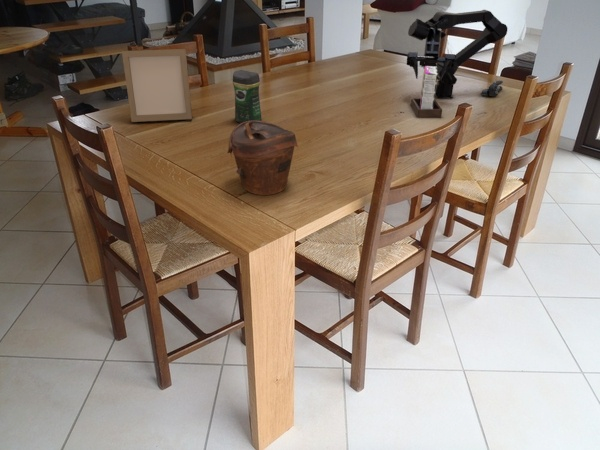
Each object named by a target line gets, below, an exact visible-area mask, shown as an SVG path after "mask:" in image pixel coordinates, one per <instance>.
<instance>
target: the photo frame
mask: <svg viewBox="0 0 600 450" xmlns="http://www.w3.org/2000/svg"><path fill="white" fill-rule="evenodd" d="M121 56H122V63H123V71H124V77H125V85H126V91H127V99H128V106H129V107H128V108H129V114H130V120H131V123H138V122H140V123H141V122H158V121H159V122H160V121H178V120H181V121H182V120H192V119H193V110H192V100H191V91H190V90H191V89H190V80H189V71H188V69H189V68H188V60H187V59H188V58H187V51H186V48H174V49H173V48H172V49H171V48H170V49H142V50H121Z"/></svg>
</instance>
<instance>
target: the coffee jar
mask: <svg viewBox="0 0 600 450" xmlns="http://www.w3.org/2000/svg"><path fill="white" fill-rule="evenodd" d="M260 85H261V79H260V74H259V73H258V72H253V71H249V70H243V69H238V70H236V71H234V72H233V74H232V86H233V89H234V90H233V91H234V105H235V106H234V120H235V121H236V122H237V123H239V124H241V123H243V122H246V121H262V111H261V101H260Z"/></svg>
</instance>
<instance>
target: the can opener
mask: <svg viewBox="0 0 600 450" xmlns="http://www.w3.org/2000/svg"><path fill="white" fill-rule="evenodd" d="M503 83H504V82H503V80H496V81H493V82H492V83H491V84H490V85H489V86H488V88H485V89H482V90H481V92H480V94H481V95H482V96H489V97H497V96H498V94H499V92H500V91H501V90H502V89H503V86H501V85H502V84H503Z"/></svg>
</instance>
